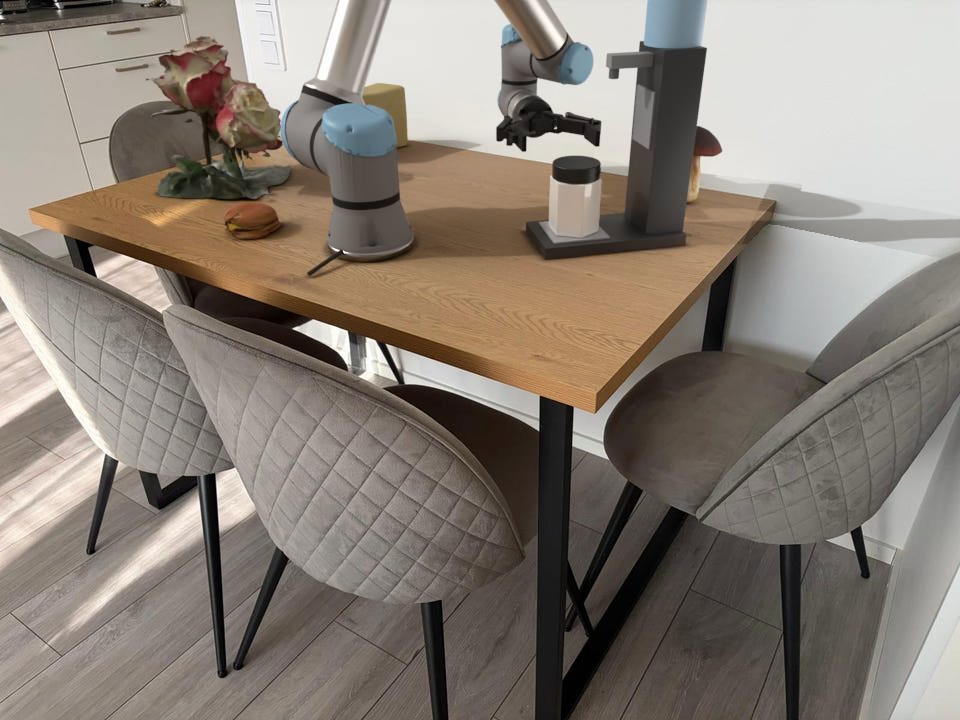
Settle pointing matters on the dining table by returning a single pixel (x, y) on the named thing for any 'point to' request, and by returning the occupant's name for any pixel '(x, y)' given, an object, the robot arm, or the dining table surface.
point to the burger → (251, 220)
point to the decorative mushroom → (705, 147)
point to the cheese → (390, 106)
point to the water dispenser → (651, 138)
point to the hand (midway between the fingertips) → (561, 141)
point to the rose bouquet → (219, 125)
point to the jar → (575, 196)
